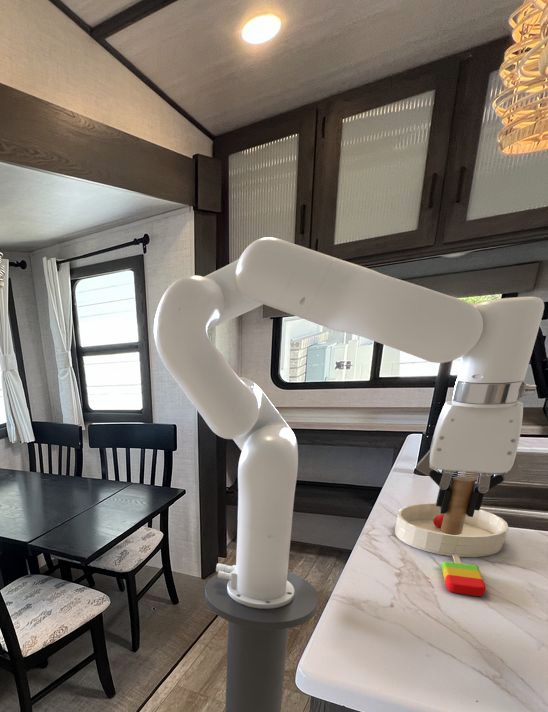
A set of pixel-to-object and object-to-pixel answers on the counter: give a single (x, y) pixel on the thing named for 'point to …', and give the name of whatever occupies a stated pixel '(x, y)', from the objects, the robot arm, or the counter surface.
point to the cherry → (438, 521)
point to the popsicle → (463, 578)
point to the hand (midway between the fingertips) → (455, 511)
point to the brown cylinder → (458, 505)
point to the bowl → (475, 540)
